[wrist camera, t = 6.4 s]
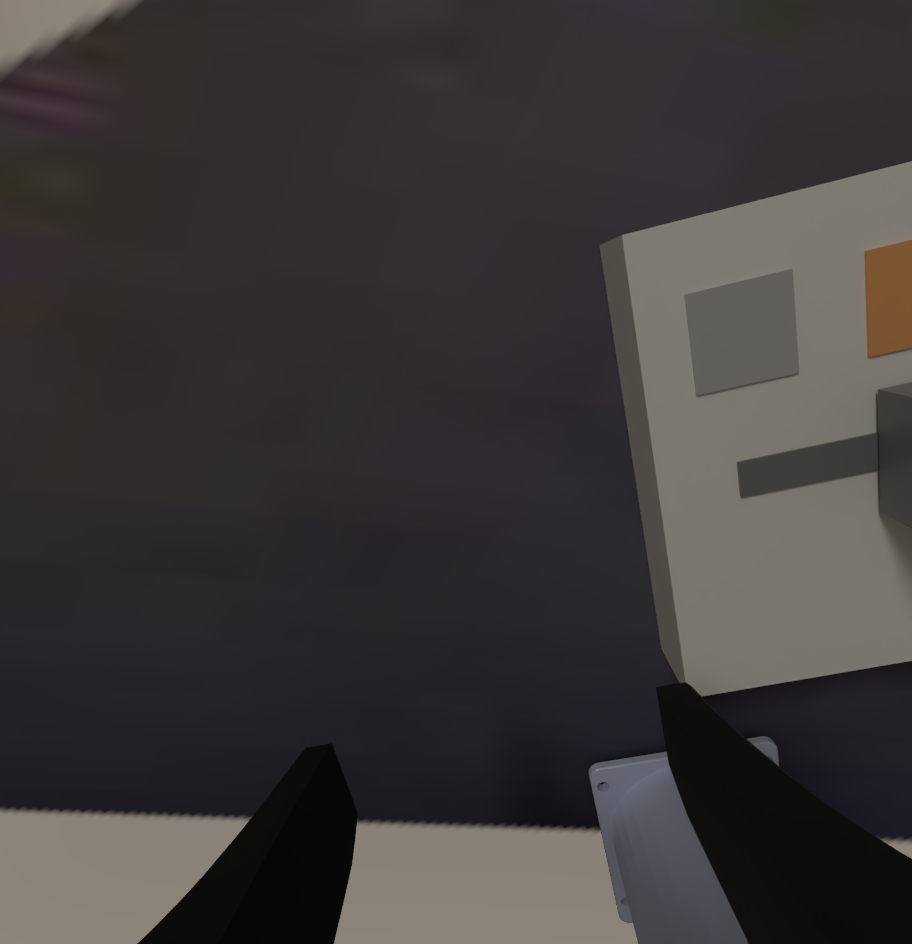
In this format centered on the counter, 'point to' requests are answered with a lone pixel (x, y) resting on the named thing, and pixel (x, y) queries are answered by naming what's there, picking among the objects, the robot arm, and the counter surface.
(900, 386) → the handle
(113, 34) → the counter surface
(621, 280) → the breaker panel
